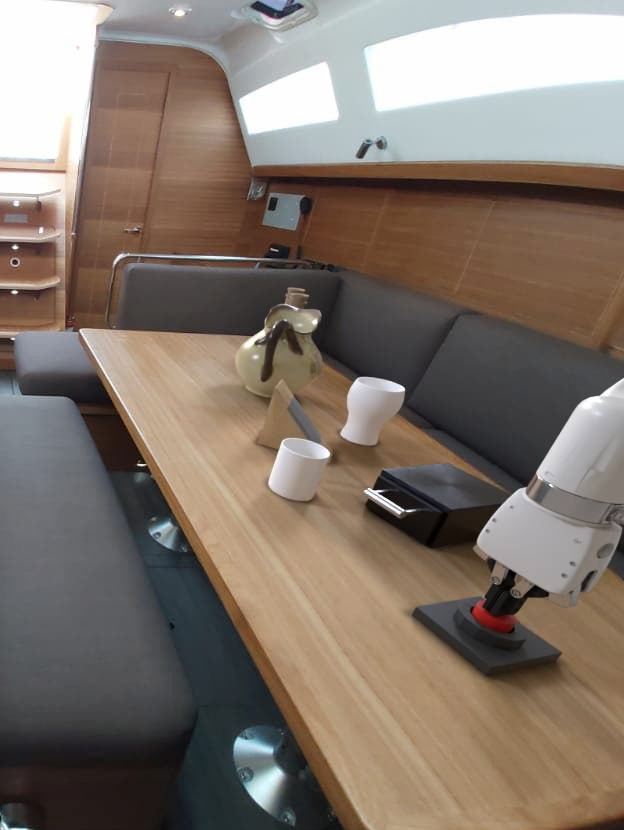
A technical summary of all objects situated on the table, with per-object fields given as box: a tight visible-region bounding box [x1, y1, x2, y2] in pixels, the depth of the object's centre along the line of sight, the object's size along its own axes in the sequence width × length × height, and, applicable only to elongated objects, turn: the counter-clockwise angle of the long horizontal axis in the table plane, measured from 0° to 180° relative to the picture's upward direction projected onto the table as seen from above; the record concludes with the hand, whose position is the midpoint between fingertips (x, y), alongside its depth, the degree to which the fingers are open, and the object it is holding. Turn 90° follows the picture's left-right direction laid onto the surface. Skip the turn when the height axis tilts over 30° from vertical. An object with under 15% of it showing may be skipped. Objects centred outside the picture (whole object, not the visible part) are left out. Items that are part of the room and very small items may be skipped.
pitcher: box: [234, 303, 323, 399], centre depth 145 cm, size 22×24×25 cm
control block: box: [411, 595, 563, 677], centre depth 69 cm, size 12×10×4 cm
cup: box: [339, 376, 406, 446], centre depth 121 cm, size 11×11×15 cm
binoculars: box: [284, 287, 310, 309], centre depth 172 cm, size 21×10×25 cm, turn 155°
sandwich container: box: [257, 379, 333, 465], centre depth 115 cm, size 9×15×15 cm, turn 52°
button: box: [472, 601, 518, 633], centre depth 67 cm, size 4×4×2 cm
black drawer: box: [363, 475, 446, 546], centre depth 91 cm, size 20×12×7 cm, turn 102°
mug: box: [268, 438, 330, 502], centre depth 101 cm, size 12×8×10 cm
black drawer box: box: [379, 462, 513, 549], centre depth 92 cm, size 16×13×9 cm
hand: (496, 610), depth 67 cm, fingers closed
